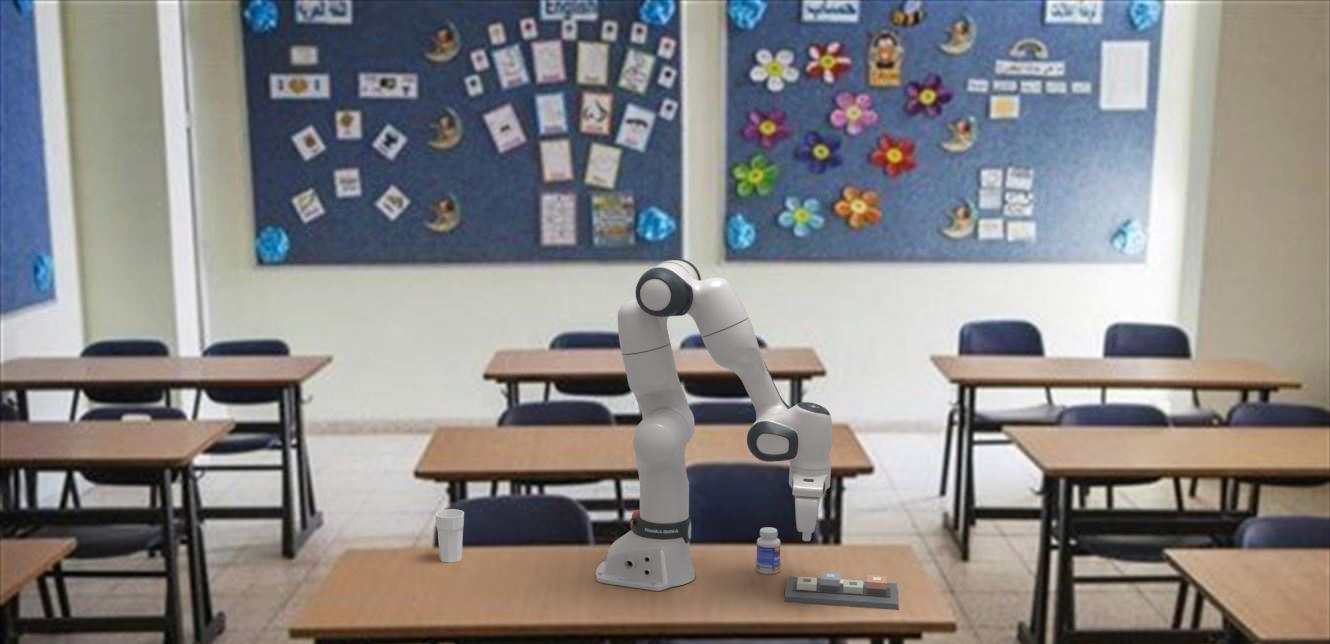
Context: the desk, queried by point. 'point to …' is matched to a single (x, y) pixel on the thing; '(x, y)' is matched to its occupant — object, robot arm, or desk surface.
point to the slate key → (830, 579)
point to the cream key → (807, 583)
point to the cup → (450, 534)
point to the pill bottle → (768, 551)
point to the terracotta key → (876, 582)
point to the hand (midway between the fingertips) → (806, 538)
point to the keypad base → (843, 595)
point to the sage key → (853, 586)
